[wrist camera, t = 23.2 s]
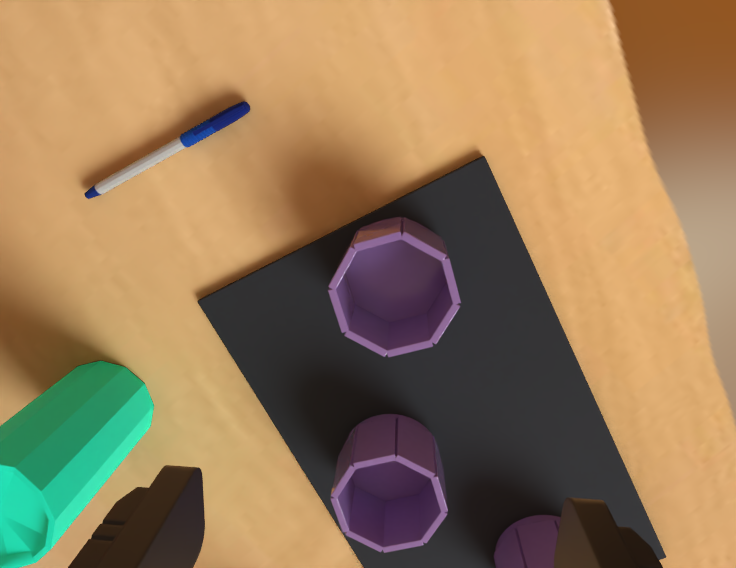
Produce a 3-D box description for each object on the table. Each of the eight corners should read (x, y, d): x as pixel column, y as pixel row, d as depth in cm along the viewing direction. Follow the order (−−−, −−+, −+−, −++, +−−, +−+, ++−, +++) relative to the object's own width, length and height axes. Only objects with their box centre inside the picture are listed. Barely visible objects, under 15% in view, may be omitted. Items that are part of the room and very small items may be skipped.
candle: (41, 386, 35) (-134, 518, 24) (115, 344, 34) (-32, 462, 23) (100, 459, 37) (-39, 618, 25) (172, 421, 35) (61, 569, 24)
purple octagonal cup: (326, 470, 35) (314, 520, 31) (371, 396, 34) (366, 438, 29) (409, 512, 36) (409, 567, 31) (458, 441, 34) (465, 489, 30)
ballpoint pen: (244, 95, 29) (239, 94, 28) (254, 110, 29) (248, 110, 28) (87, 190, 31) (77, 192, 30) (97, 204, 31) (87, 207, 30)
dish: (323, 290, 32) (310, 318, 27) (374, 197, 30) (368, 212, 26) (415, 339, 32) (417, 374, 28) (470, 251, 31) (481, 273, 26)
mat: (199, 299, 33) (197, 301, 32) (483, 155, 29) (484, 155, 29) (411, 638, 39) (411, 643, 39) (663, 553, 36) (666, 557, 35)
